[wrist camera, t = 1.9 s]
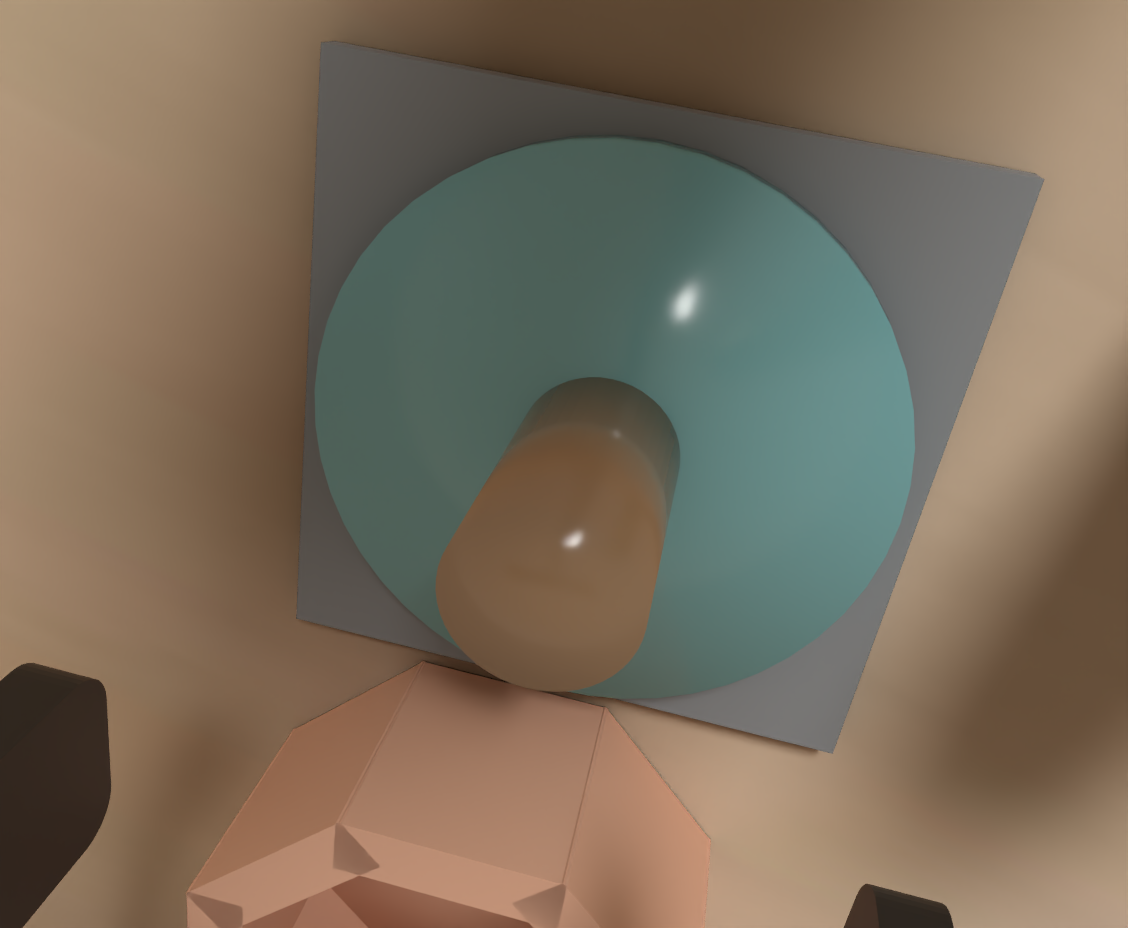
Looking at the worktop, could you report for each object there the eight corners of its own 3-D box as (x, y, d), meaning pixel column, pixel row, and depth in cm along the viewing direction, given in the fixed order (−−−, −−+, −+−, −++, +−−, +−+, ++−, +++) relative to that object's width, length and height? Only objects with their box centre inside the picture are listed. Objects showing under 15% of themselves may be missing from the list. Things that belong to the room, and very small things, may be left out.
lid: (346, 79, 17) (157, 115, 12) (1000, 203, 16) (1108, 304, 11) (319, 605, 22) (178, 792, 17) (816, 729, 21) (828, 972, 16)
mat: (334, 41, 17) (320, 42, 17) (1035, 172, 16) (1044, 179, 16) (308, 604, 23) (296, 618, 22) (831, 734, 21) (832, 754, 21)
